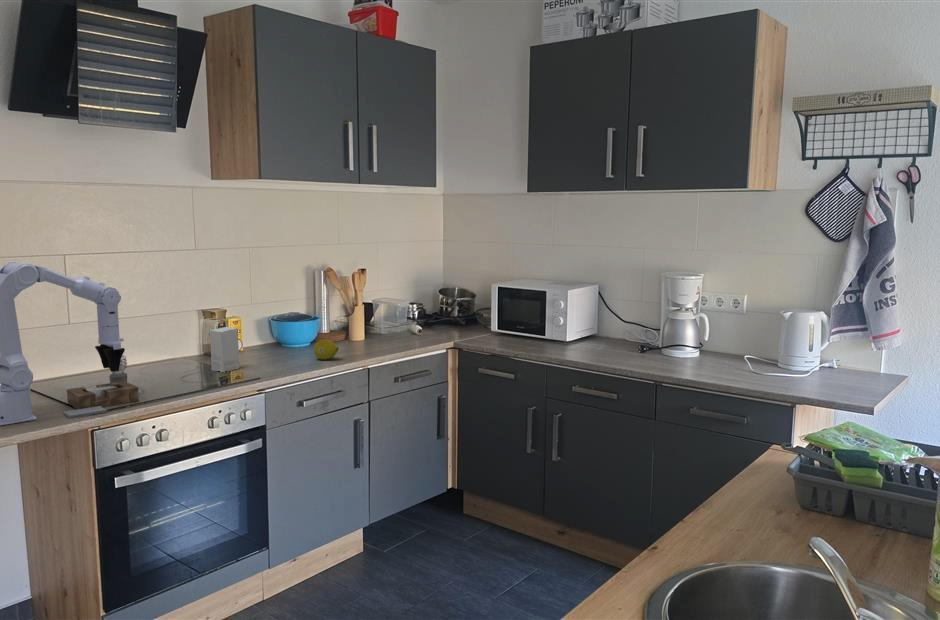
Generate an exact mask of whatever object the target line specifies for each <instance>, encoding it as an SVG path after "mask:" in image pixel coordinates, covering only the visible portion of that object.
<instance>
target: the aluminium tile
mask: <svg viewBox="0 0 940 620" xmlns="http://www.w3.org/2000/svg"><path fill="white" fill-rule="evenodd" d="M115 388H117V387H115V386H106V387H99V388H96V387H94V388H86V390H85V392H86V393H88V392H93V393H95V395H96V399H97V398H104V397H106V393H105V390H108V389H115Z"/></svg>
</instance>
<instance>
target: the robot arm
mask: <svg viewBox="0 0 940 620" xmlns="http://www.w3.org/2000/svg"><path fill="white" fill-rule="evenodd" d="M43 282H46V283H50V284H53V285H56V286H58V287H59V286H60V287H62V288H65V289H69V290H70V292H71V295H73V296H75V297H78V298H81V299H84V300H87V301H91V302H94V304H96V309H97V310H96V313H97V315H96V316H97V329H98V330H97V331H98V338H97V339H98V340H97V344H99V345H96V346H94V347H95V348H94V349H95V350H96V351H97V353H98V355H99V357H100V360H101V364H102V367H103V369H109V368H110V372H111V373H112V372H114V371H119V367H120V361H121V357H122V355H124V353H125V350H126V349H125V348H124V347H122V342H124V341H125V339H124V338H120V326H119V324H120V323H119V322H120V321H119V304H120V303H121V300H122V296H121V294H120V292H119V291H118V289H117V288H115V287H111V286H110V287H109V286H106V285H105V283H103V282H96V281H93V280H92V279H91V278H90V277H88V276H83V277H82V276H80V277H79V276H78V277H77V278H72V277H71V276H67V275H64V274H62V273H60V272H57V271H55V270H52V269H49V268H48V267H44V266H39V265H35V264H31V263H27V262H26V263H21V262H20V263H19V262H16V261H15V262H14V261H11V262H8V263H6V264H5V265H3V266H2V267H1V268H0V426H5V425H12V424H17V423H24V422H29V421H36V420H38V417H36V416H35V415H34V414H33V408H32V405H33V404H32V394H31V392H32V391H31V384H32V383H33V381H34V374H33V372H32V371H31V369H30V367H29V365H28V361H27V360H26V358H25V356H24V355H23V351H22V343H21V337H20V329H19V325H18V324H19V323H18V317H17V310H16V304H15V299H16V298H17V297H18V295H19V294H20V293H21V292H22V291H24V290H26V289H27V288H30V287H32V286H33V285H35V284H36V283H43ZM122 358H123V357H122Z"/></svg>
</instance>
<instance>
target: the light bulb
mask: <svg viewBox="0 0 940 620" xmlns="http://www.w3.org/2000/svg"><path fill="white" fill-rule="evenodd" d="M127 365H128V363H127V355H125V354H123V355H122V357H121V361H120V367H119V371H114V372H111V374H109V376H108V377H109V383H115V382H122V381H126V382H128V373H126V372H125V371H126V369H127V368H128V366H127ZM108 370H110V368H108ZM110 371H111V370H110Z"/></svg>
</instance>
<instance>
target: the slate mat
mask: <svg viewBox="0 0 940 620" xmlns="http://www.w3.org/2000/svg"><path fill="white" fill-rule="evenodd" d="M107 412H108V410H107V408H106V407H101V406H96V407H90V408H84V409H78V410H77V409H73V410H67V411H63V412H62V414H63V416H64V417H66V418H67V419H69V420H71V419H74V418H75V419H77V418H81V417H87V416H94V415H93V414H95V415H100V413H101V414H106V413H107Z"/></svg>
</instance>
